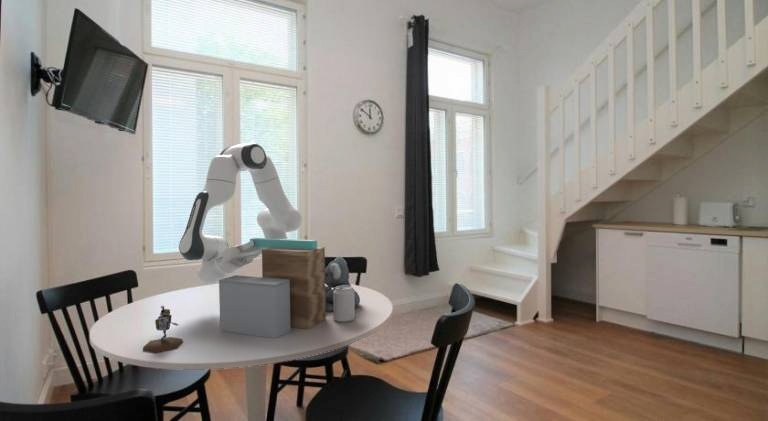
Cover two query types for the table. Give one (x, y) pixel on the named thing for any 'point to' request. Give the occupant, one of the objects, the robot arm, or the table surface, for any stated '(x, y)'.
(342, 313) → the can
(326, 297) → the koala plush
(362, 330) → the table surface
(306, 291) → the tall wooden block
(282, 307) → the low stand
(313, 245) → the teal bar
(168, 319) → the robot figurine
